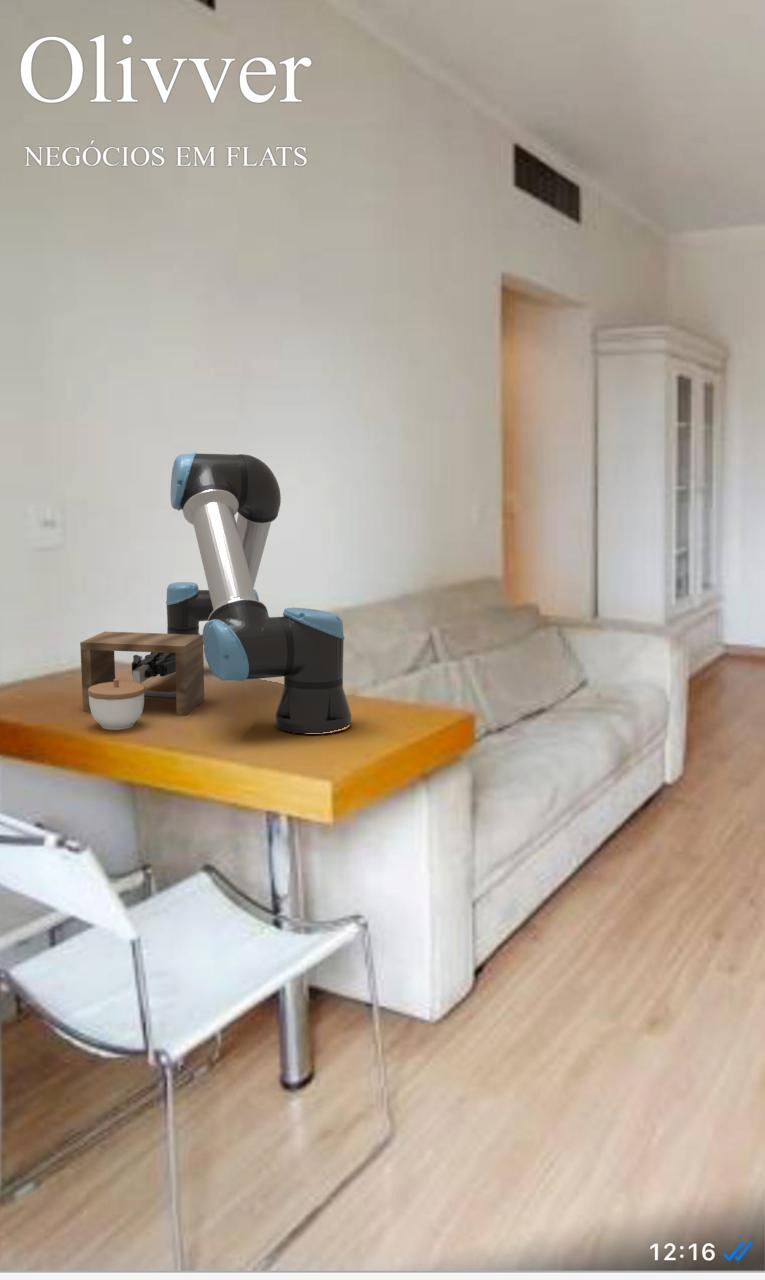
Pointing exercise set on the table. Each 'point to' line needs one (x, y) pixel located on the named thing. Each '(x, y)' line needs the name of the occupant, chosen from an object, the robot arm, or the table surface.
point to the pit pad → (160, 695)
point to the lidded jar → (116, 704)
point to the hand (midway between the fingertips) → (136, 677)
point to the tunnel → (186, 648)
